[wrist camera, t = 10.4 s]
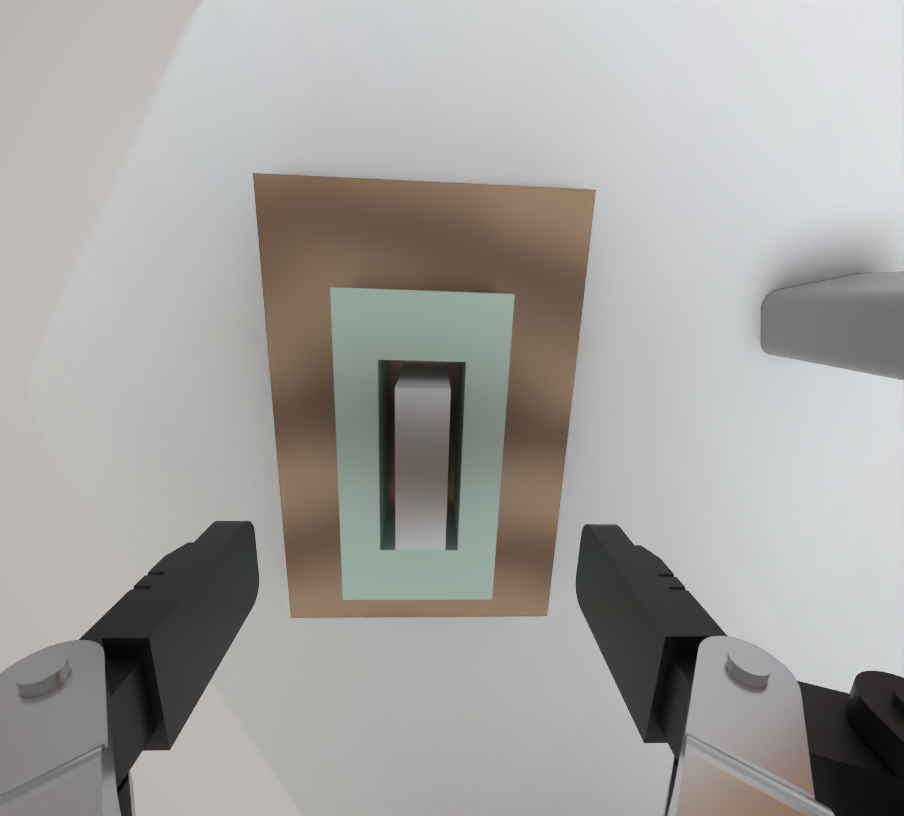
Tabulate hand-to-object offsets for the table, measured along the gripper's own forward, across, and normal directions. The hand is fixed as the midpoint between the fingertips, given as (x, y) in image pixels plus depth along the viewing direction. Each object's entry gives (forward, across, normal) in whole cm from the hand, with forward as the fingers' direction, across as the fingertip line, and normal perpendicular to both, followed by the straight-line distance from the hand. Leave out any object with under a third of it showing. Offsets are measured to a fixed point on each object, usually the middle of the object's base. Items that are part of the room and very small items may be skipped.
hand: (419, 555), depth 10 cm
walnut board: (+11, 0, 0) cm, 11 cm away
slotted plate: (+9, 0, 0) cm, 9 cm away
